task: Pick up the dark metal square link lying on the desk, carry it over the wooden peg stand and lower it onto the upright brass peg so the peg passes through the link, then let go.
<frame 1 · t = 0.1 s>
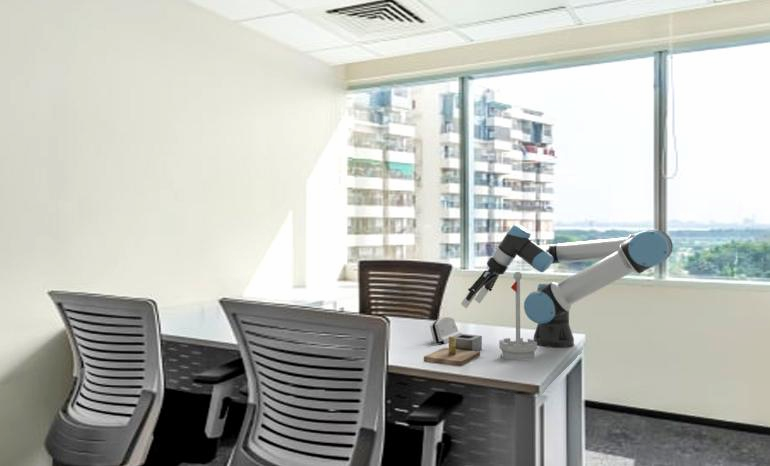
hand: (470, 303, 229), 15 cm above the table, tool tilted 35°, fingers open, 13 cm apart
flag stand: (518, 357, 205), on the table
link: (465, 350, 216), on the table
hinge: (445, 340, 236), on the table
wooden peg stand: (452, 358, 203), on the table
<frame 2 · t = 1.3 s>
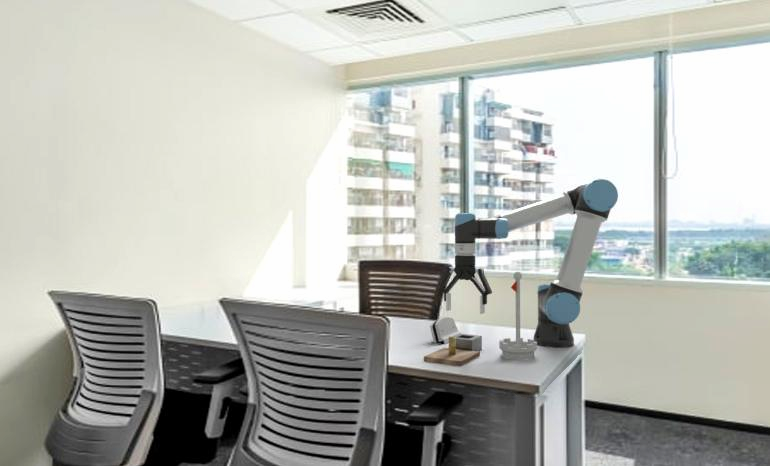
hand: (465, 311, 215), 14 cm above the table, tool pointing down, fingers open, 13 cm apart
nothing on the table moved.
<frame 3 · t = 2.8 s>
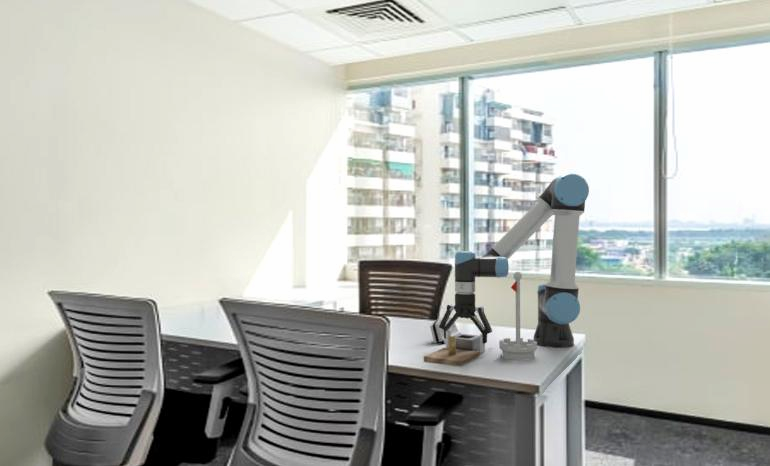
hand: (465, 349, 216), 0 cm above the table, tool pointing down, fingers open, 13 cm apart
nothing on the table moved.
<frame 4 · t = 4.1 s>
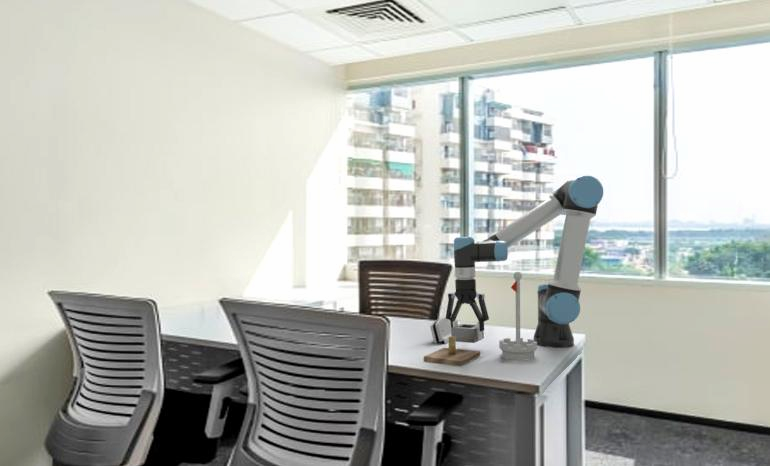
hand: (467, 338, 216), 4 cm above the table, tool pointing down, fingers closed on link, 9 cm apart
link: (467, 339, 216), point 4 cm above the table, touching gripper
everything else where it was.
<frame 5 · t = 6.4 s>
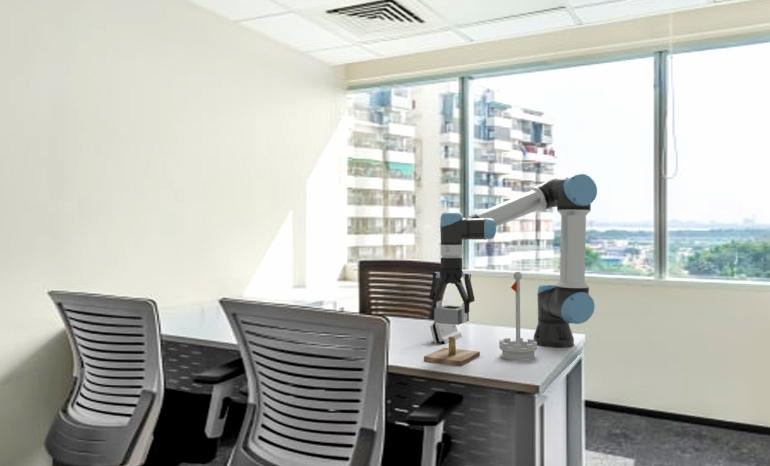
hand: (451, 321, 203), 13 cm above the table, tool pointing down, fingers closed on link, 9 cm apart
link: (451, 321, 203), point 13 cm above the table, touching gripper
everything else where it was.
when the fingers open (3 cm above the table, at t = 8.5 s): link drops 2 cm, resting on wooden peg stand.
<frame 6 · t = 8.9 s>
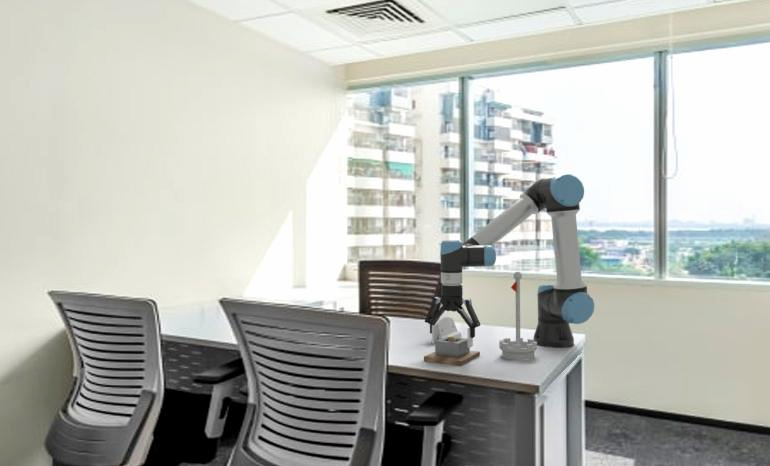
hand: (452, 345, 203), 5 cm above the table, tool pointing down, fingers open, 13 cm apart
link: (452, 354, 203), point 1 cm above the table, touching wooden peg stand
everything else where it was.
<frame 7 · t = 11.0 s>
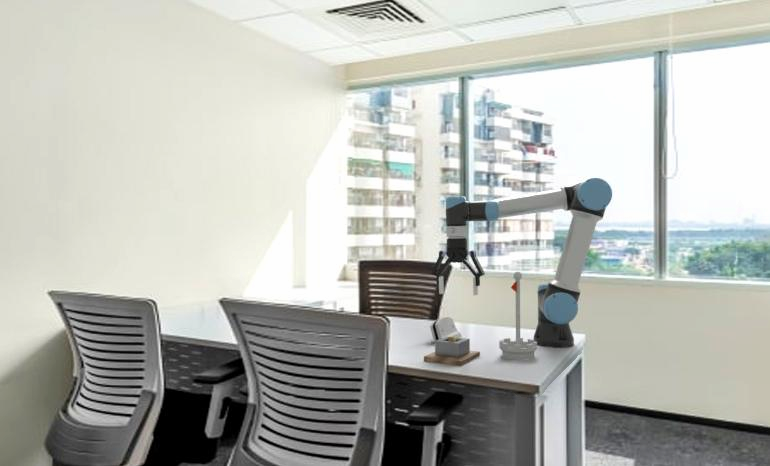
hand: (458, 294, 217), 21 cm above the table, tool pointing down, fingers open, 13 cm apart
nothing on the table moved.
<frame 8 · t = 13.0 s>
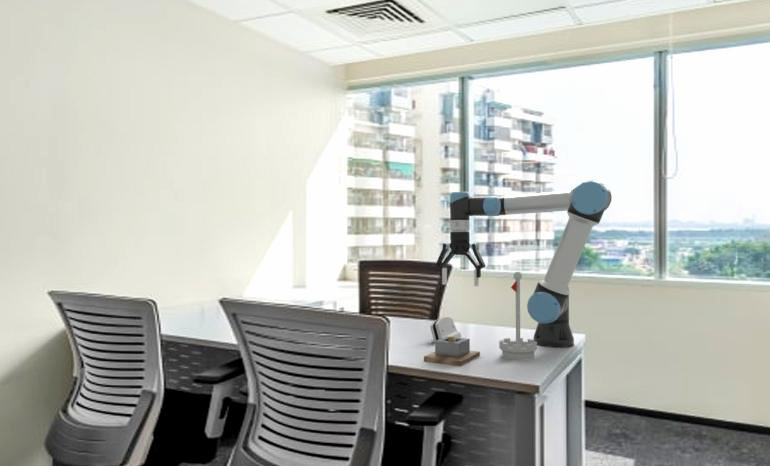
hand: (460, 285, 228), 23 cm above the table, tool pointing down, fingers open, 13 cm apart
nothing on the table moved.
at the end: link 0.1 cm off-centre on the wooden peg stand, point 1.5 cm above the wooden peg stand's base; the gripper is holding nothing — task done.
